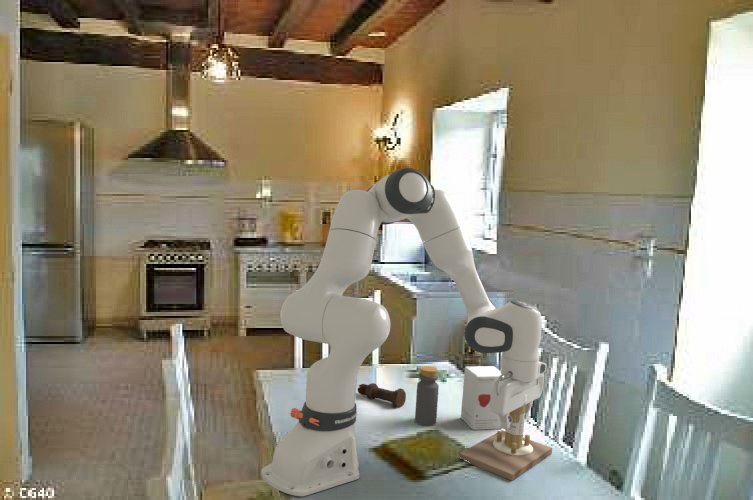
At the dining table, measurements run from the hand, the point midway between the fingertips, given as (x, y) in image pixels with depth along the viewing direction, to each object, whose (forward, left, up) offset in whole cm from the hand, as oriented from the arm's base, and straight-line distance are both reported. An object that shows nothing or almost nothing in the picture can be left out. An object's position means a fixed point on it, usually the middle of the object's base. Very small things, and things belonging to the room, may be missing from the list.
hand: (514, 422), depth 143 cm
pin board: (-3, 0, -8) cm, 8 cm away
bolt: (+2, +45, -8) cm, 46 cm away
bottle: (-1, +26, -8) cm, 27 cm away
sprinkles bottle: (+1, 0, -6) cm, 6 cm away
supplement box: (+10, +15, -8) cm, 20 cm away
